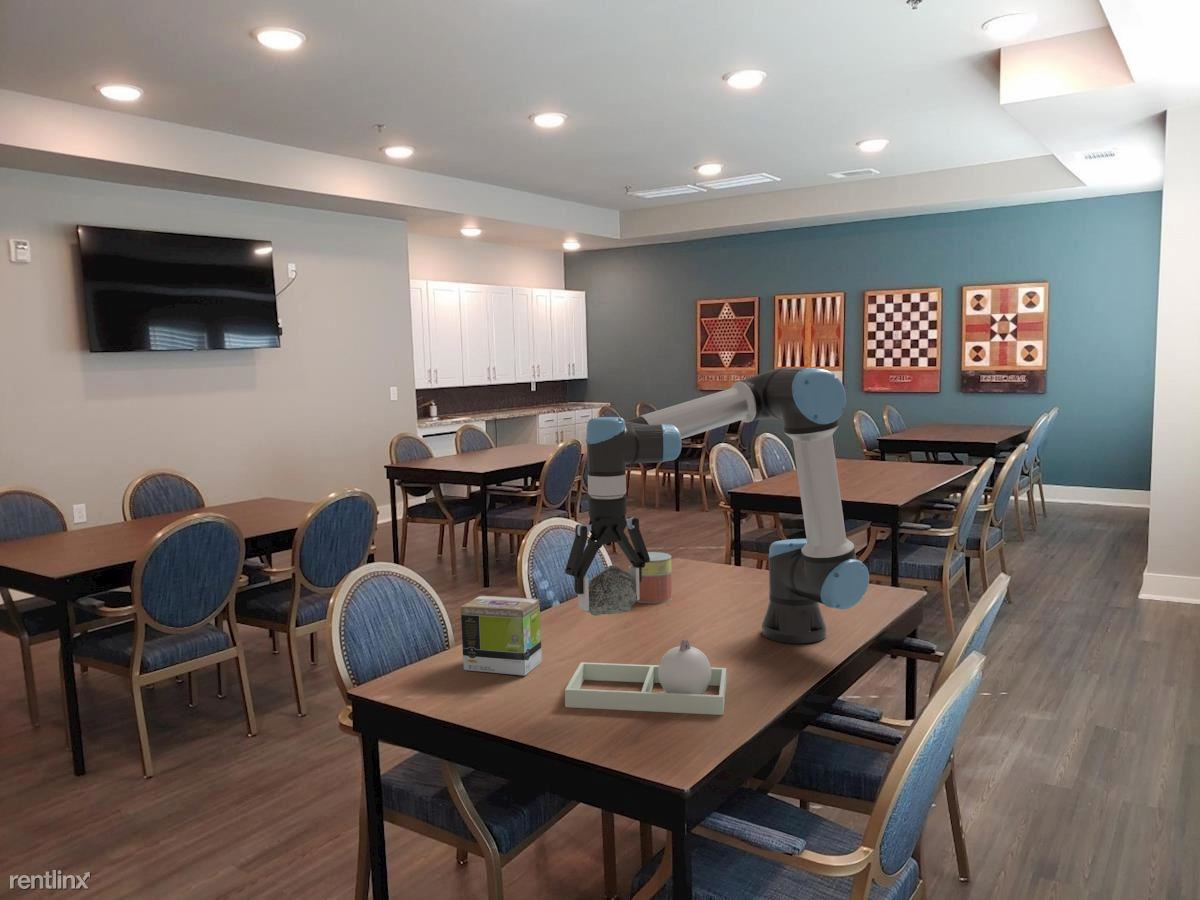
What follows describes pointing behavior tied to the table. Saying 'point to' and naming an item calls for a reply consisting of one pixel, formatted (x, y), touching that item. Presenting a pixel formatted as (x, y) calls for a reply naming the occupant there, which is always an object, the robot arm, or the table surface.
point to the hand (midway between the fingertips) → (609, 604)
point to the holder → (645, 697)
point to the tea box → (501, 635)
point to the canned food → (656, 579)
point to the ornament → (684, 670)
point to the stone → (611, 592)
